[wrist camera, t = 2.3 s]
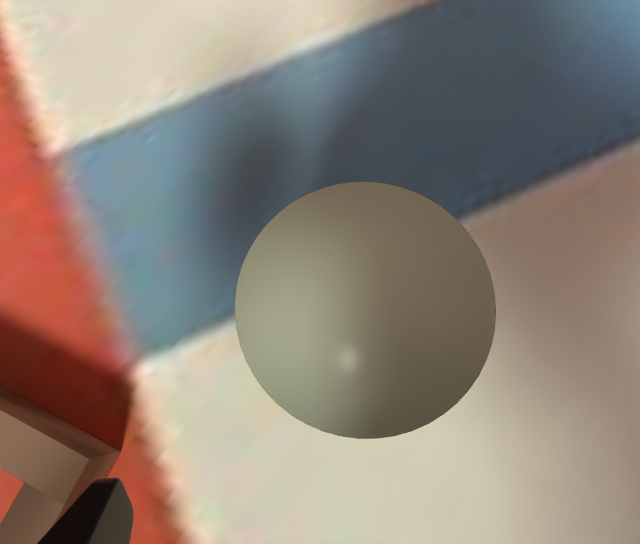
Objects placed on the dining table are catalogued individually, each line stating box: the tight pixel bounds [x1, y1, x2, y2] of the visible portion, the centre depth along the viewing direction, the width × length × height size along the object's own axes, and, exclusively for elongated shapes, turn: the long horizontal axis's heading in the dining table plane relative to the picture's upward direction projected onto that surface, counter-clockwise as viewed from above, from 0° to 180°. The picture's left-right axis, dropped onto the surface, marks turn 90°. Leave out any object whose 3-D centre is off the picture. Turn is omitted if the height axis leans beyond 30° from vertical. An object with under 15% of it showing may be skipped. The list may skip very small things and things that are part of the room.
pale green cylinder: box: [235, 182, 496, 439], centre depth 15 cm, size 5×5×10 cm
